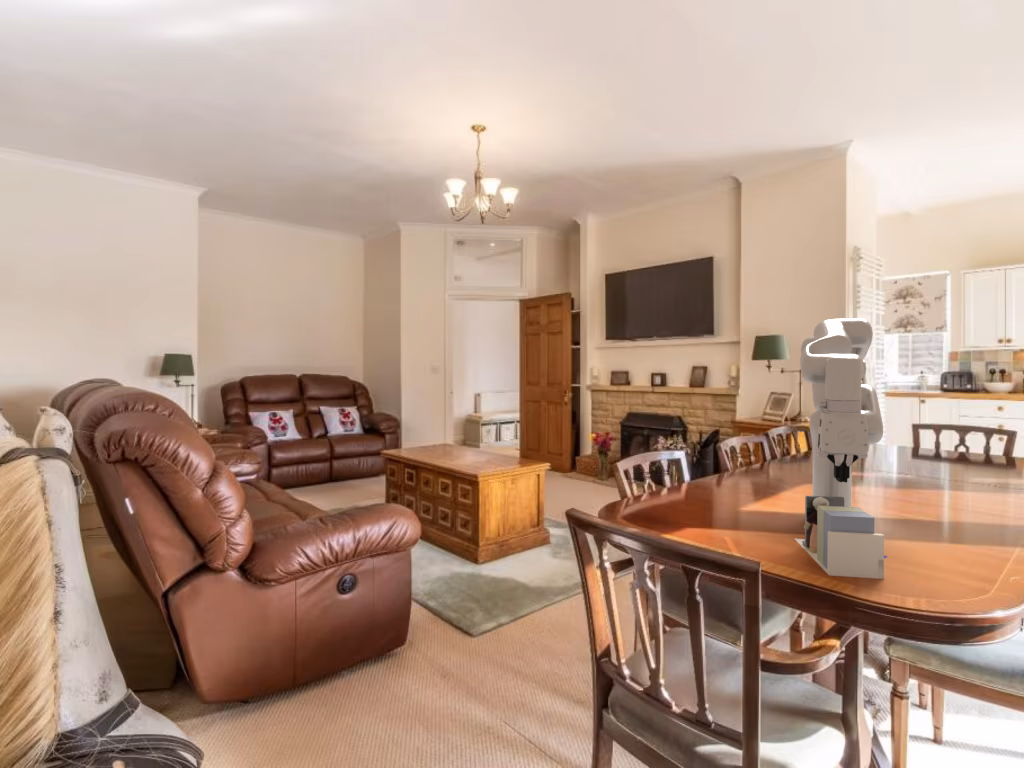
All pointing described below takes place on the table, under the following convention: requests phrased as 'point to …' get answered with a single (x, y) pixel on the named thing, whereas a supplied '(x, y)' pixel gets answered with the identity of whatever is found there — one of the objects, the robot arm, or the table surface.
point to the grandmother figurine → (814, 523)
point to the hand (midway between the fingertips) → (841, 480)
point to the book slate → (846, 525)
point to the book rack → (853, 554)
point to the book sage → (821, 526)
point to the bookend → (810, 509)
